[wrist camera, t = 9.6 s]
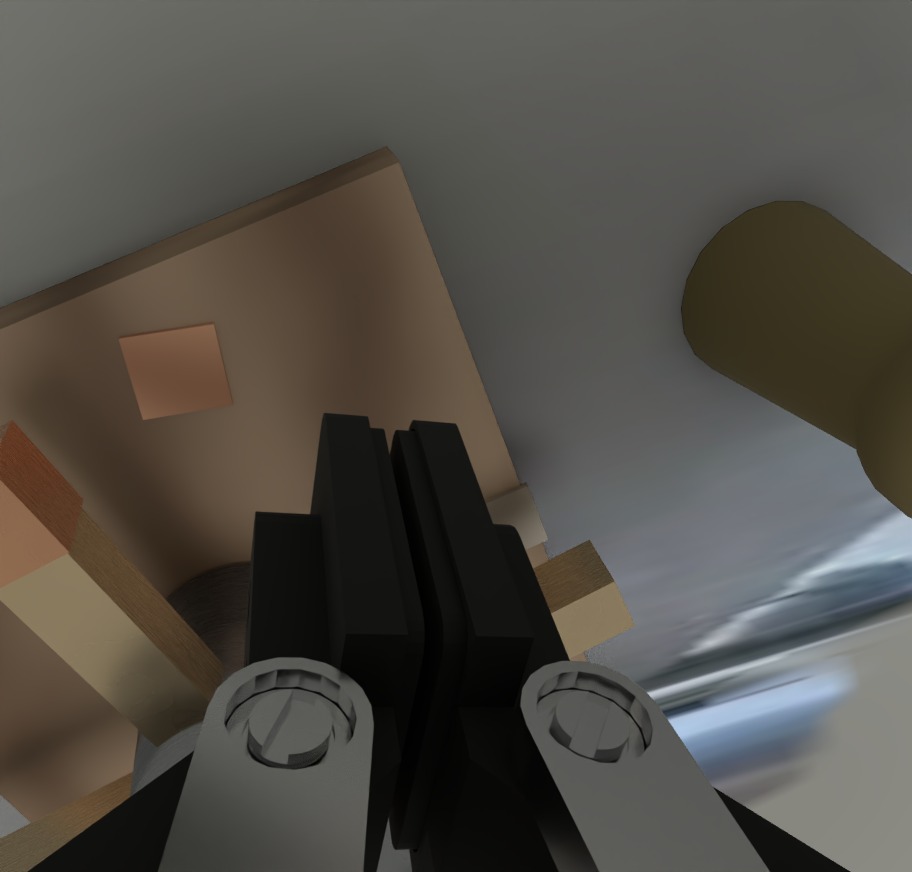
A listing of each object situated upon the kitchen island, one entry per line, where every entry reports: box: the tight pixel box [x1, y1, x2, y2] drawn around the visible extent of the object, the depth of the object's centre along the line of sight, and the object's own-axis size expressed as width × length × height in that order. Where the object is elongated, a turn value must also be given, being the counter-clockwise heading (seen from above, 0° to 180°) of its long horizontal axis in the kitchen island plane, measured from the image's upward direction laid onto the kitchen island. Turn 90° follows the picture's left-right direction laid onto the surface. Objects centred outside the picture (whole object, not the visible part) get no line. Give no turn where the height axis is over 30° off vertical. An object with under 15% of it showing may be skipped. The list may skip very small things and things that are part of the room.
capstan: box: [0, 420, 635, 872], centre depth 23 cm, size 22×22×10 cm
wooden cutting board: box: [0, 147, 587, 823], centre depth 28 cm, size 20×24×2 cm
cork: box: [681, 201, 912, 518], centre depth 23 cm, size 6×6×11 cm
